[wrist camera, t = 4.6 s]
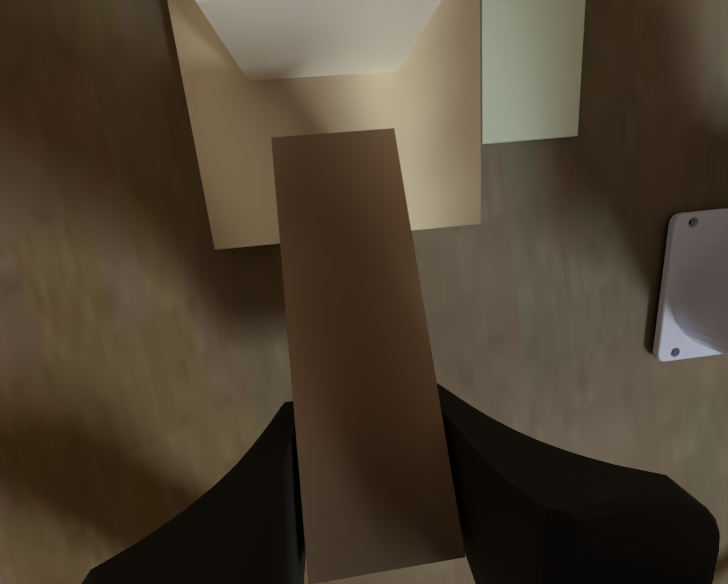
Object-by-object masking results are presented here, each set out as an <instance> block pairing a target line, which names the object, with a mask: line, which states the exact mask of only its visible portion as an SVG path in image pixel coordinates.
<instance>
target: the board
mask: <svg viewBox="0 0 728 584" xmlns="http://www.w3.org/2000/svg"><path fill="white" fill-rule="evenodd" d="M167 1H168V7H169V12H170V17H171V22H172V28H173V33H174V38H175V43H176V49H177V54H178V59H179V64H180V70H181V75H182V80H183V85H184V91H185V96H186V101H187V107H188V112H189V117H190V122H191V128H192V133H193V138H194V143H195V149H196V154H197V159H198V164H199V170H200V175H201V180H202V185H203V191H204V196H205V201H206V206H207V212H208V217H209V222H210V227H211V233H212V238H213V243H214V248H215V250H218V249H228V248H238V247H248V246H258V245H269V244H279V243H280V237H279V225H278V213H277V201H276V189H275V177H274V165H273V153H272V141H271V137H284V136H297V135H310V134H323V133H337V132H350V131H363V130H377V129H390V128H394V130H395V136H396V142H397V148H398V154H399V160H400V166H401V172H402V178H403V184H404V190H405V196H406V202H407V208H408V214H409V220H410V226H411V230H421V229H431V228H441V227H452V226H462V225H472V224H481V107H480V0H441V2H440V3H439V5H438V7H437V8H436V10H435V12H434V13H433V15H432V16H431V18H430V20H429V21H428V23H427V24H426V26H425V28H424V29H423V31H422V33H421V34H420V36H419V37H418V39H417V41H416V42H415V44H414V45H413V47H412V49H411V50H410V52H409V53H408V55H407V57H406V58H405V60H404V62H403V63H402V65H401V66H400V68H399V70H398V71H393V72H378V73H362V74H346V75H331V76H315V77H300V78H284V79H268V80H253V81H248V79H247V78H246V76H245V75H244V73H243V72H242V70H241V69H240V67H239V66H238V64H237V63H236V61H235V60H234V58H233V57H232V55H231V54H230V52H229V51H228V49H227V48H226V46H225V45H224V43H223V42H222V40H221V39H220V37H219V36H218V34H217V33H216V31H215V30H214V28H213V27H212V25H211V24H210V22H209V21H208V19H207V18H206V16H205V15H204V13H203V12H202V10H201V9H200V7H199V6H198V4H197V3H196V1H195V0H167Z"/></svg>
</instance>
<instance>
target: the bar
mask: <svg viewBox="0 0 728 584" xmlns="http://www.w3.org/2000/svg"><path fill="white" fill-rule="evenodd" d="M271 141H272V153H273V165H274V177H275V189H276V201H277V213H278V225H279V237H280V249H281V261H282V273H283V285H284V297H285V309H286V321H287V333H288V345H289V357H290V369H291V381H292V393H293V405H294V417H295V429H296V441H297V453H298V465H299V477H300V489H301V501H302V513H303V525H304V537H305V549H306V561H307V573H308V584H314V583H320V582H326V581H331V580H337V579H343V578H348V577H354V576H360V575H365V574H371V573H377V572H383V571H388V570H394V569H400V568H405V567H411V566H417V565H422V564H428V563H434V562H439V561H445V560H451V559H456V558H462V557H465V551H464V545H463V539H462V533H461V527H460V521H459V515H458V509H457V503H456V497H455V491H454V485H453V479H452V473H451V467H450V461H449V455H448V449H447V443H446V437H445V431H444V425H443V419H442V413H441V407H440V401H439V395H438V389H437V383H436V377H435V371H434V365H433V359H432V353H431V347H430V341H429V335H428V329H427V323H426V317H425V311H424V304H423V298H422V292H421V286H420V280H419V274H418V268H417V262H416V256H415V250H414V244H413V238H412V232H411V226H410V220H409V214H408V208H407V202H406V196H405V190H404V184H403V178H402V172H401V166H400V160H399V154H398V148H397V142H396V136H395V130H394V128H390V129H377V130H363V131H350V132H337V133H323V134H310V135H297V136H284V137H271Z"/></svg>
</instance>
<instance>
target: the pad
mask: <svg viewBox="0 0 728 584" xmlns="http://www.w3.org/2000/svg"><path fill="white" fill-rule="evenodd" d="M585 2H586V0H480V107H481V144H491V143H504V142H516V141H528V140H541V139H553V138H565V137H574V136H578V121H579V104H580V87H581V70H582V53H583V36H584V19H585Z"/></svg>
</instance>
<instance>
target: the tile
mask: <svg viewBox="0 0 728 584" xmlns="http://www.w3.org/2000/svg"><path fill="white" fill-rule="evenodd" d="M195 1H196V3H197V4H198V6H199V7H200V9H201V10H202V12H203V13H204V15H205V16H206V18H207V19H208V21H209V22H210V24H211V25H212V27H213V28H214V30H215V31H216V33H217V34H218V36H219V37H220V39H221V40H222V42H223V43H224V45H225V46H226V48H227V49H228V51H229V52H230V54H231V55H232V57H233V58H234V60H235V61H236V63H237V64H238V66H239V67H240V69H241V70H242V72H243V73H244V75H245V76H246V78H247V79H248V81H253V80H268V79H284V78H300V77H315V76H331V75H346V74H362V73H378V72H393V71H398V70H399V68H400V66H401V65H402V63H403V62H404V60H405V58H406V57H407V55H408V53H409V52H410V50H411V49H412V47H413V45H414V44H415V42H416V41H417V39H418V37H419V36H420V34H421V33H422V31H423V29H424V28H425V26H426V24H427V23H428V21H429V20H430V18H431V16H432V15H433V13H434V12H435V10H436V8H437V7H438V5H439V3H440V2H441V0H195Z"/></svg>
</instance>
